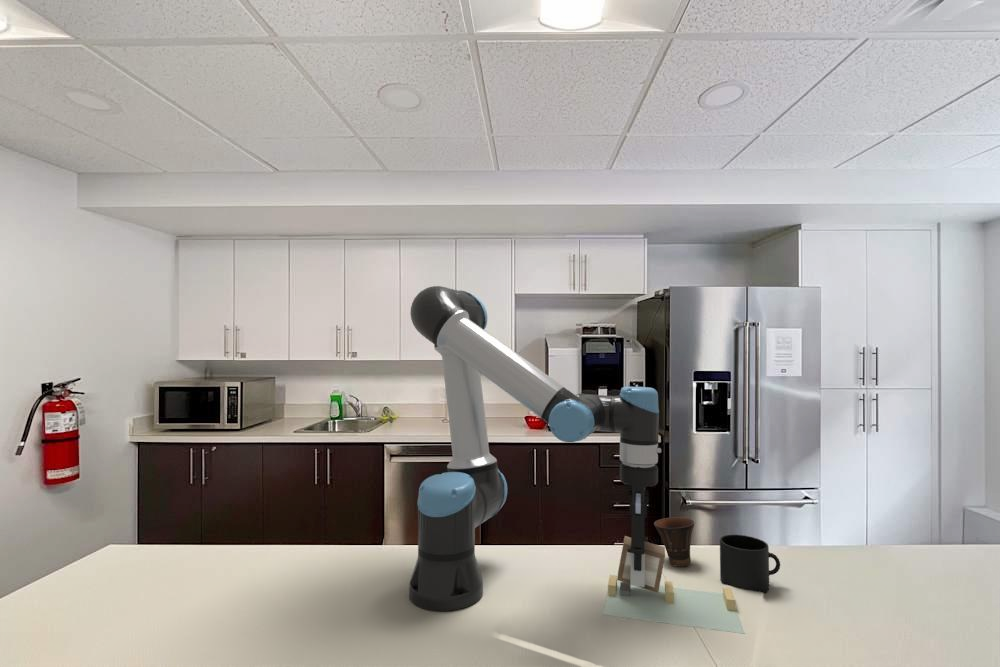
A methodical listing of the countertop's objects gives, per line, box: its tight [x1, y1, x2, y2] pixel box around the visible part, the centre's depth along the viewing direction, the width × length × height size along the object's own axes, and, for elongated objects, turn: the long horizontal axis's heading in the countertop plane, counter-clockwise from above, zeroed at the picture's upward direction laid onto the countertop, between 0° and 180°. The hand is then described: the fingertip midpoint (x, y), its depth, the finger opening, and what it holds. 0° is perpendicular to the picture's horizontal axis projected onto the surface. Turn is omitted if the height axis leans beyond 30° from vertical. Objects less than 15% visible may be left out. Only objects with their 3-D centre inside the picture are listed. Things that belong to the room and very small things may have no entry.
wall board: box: [603, 574, 746, 635], centre depth 100 cm, size 24×15×3 cm, turn 74°
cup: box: [653, 516, 695, 567], centre depth 122 cm, size 9×9×10 cm
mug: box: [719, 534, 781, 594], centre depth 110 cm, size 9×12×9 cm
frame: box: [617, 535, 666, 592], centre depth 104 cm, size 8×5×8 cm, turn 74°
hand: (637, 579), depth 104 cm, fingers closed on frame, 5 cm apart
